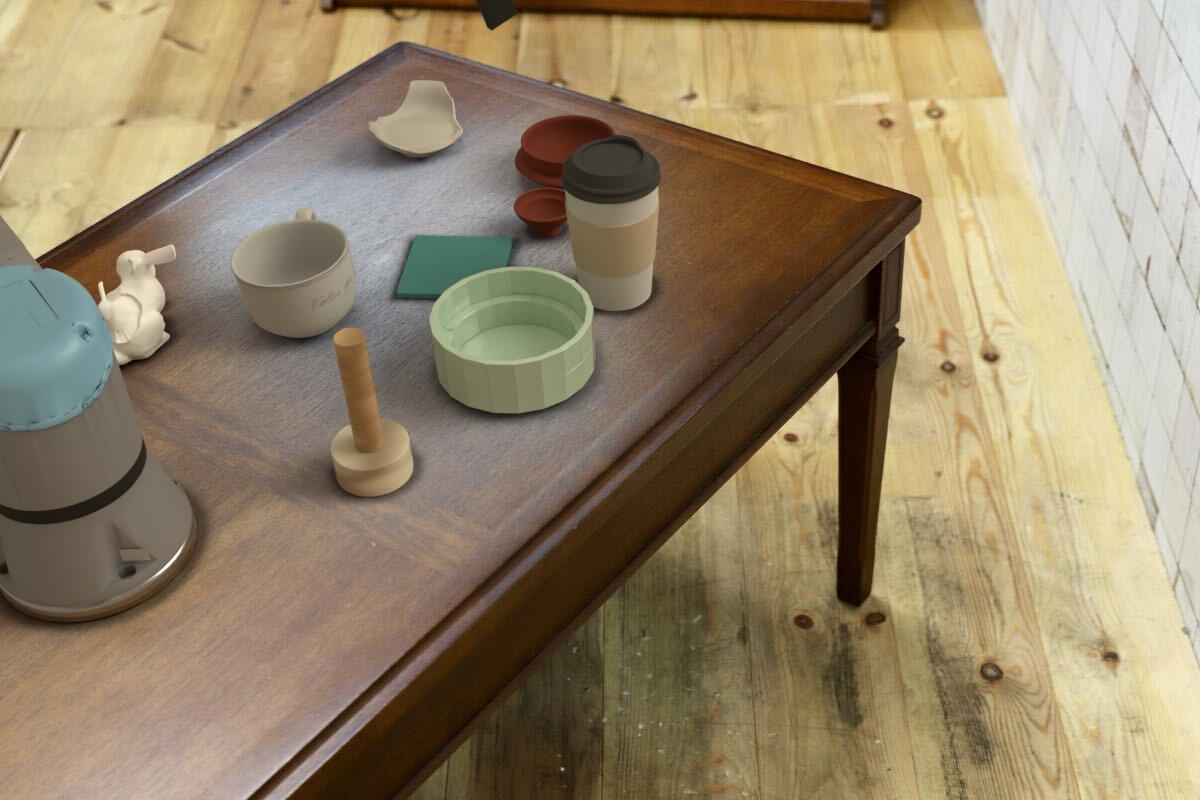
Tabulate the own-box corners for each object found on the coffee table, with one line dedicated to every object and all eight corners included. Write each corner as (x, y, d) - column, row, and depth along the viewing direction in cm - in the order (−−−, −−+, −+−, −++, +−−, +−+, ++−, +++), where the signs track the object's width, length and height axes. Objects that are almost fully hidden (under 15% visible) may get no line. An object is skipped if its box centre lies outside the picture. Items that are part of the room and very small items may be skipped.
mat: (396, 298, 133) (395, 293, 132) (415, 240, 140) (415, 235, 140) (499, 300, 132) (498, 295, 131) (513, 241, 139) (512, 236, 139)
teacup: (339, 359, 126) (324, 287, 121) (228, 347, 128) (209, 277, 122) (387, 272, 136) (375, 202, 131) (284, 263, 138) (268, 194, 133)
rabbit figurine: (147, 295, 135) (121, 211, 128) (217, 305, 133) (194, 220, 127) (81, 371, 126) (50, 284, 120) (155, 383, 124) (127, 295, 118)
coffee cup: (639, 327, 128) (636, 187, 118) (552, 305, 131) (541, 168, 121) (677, 274, 134) (676, 138, 124) (592, 255, 137) (585, 120, 127)
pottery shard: (377, 176, 150) (370, 135, 147) (361, 129, 158) (354, 89, 155) (470, 158, 152) (465, 117, 149) (449, 113, 160) (444, 73, 157)
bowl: (424, 416, 119) (415, 362, 115) (451, 317, 130) (444, 265, 126) (587, 421, 118) (584, 366, 114) (601, 320, 129) (599, 267, 125)
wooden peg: (328, 495, 112) (297, 361, 103) (345, 443, 117) (317, 310, 108) (405, 498, 111) (381, 363, 102) (420, 445, 116) (398, 312, 107)
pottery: (633, 150, 152) (632, 114, 149) (596, 251, 137) (594, 214, 134) (530, 143, 154) (528, 107, 151) (483, 242, 139) (479, 205, 137)
